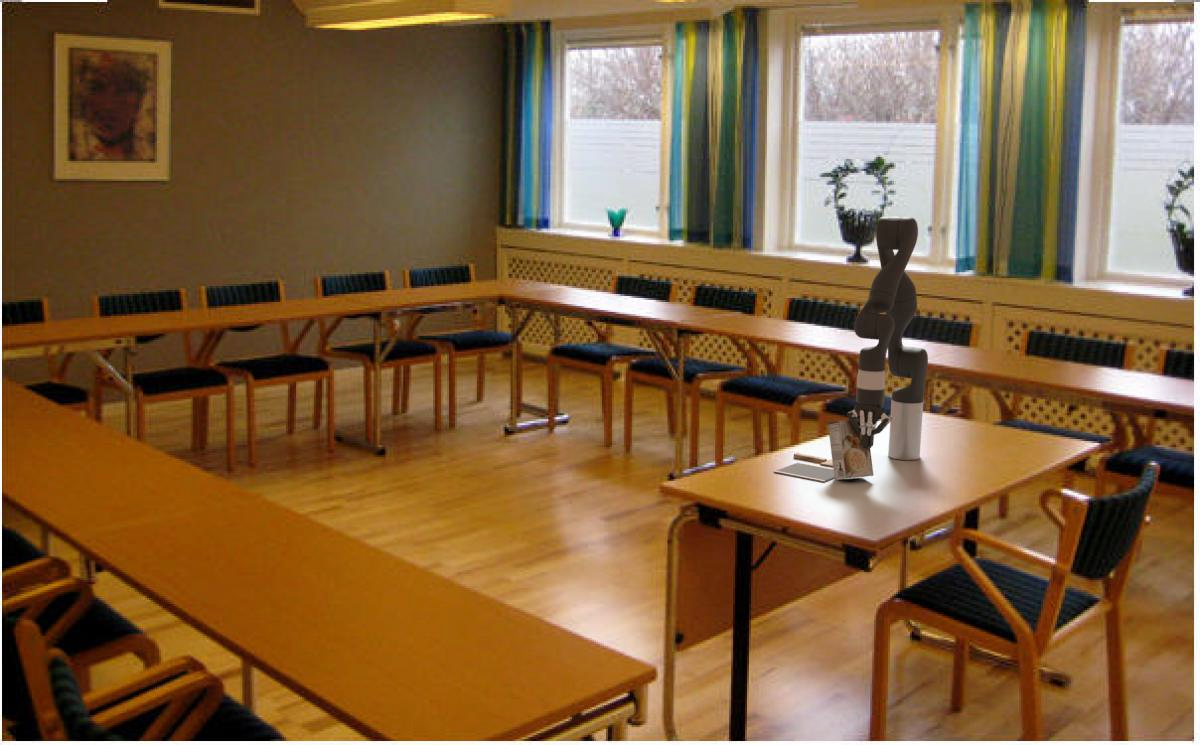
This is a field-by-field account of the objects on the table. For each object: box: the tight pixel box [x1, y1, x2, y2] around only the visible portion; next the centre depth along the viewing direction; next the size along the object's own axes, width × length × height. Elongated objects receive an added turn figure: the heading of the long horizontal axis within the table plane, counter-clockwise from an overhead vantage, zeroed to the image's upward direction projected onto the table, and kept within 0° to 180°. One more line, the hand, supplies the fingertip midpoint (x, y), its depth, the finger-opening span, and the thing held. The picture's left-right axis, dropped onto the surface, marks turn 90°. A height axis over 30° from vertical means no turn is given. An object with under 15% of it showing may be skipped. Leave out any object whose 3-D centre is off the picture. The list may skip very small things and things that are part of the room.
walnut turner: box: [793, 452, 833, 469], centre depth 396 cm, size 18×6×1 cm, turn 53°
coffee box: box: [827, 418, 874, 480], centre depth 376 cm, size 9×6×16 cm
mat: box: [773, 461, 835, 483], centre depth 384 cm, size 14×16×1 cm
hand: (867, 447), depth 372 cm, fingers closed
